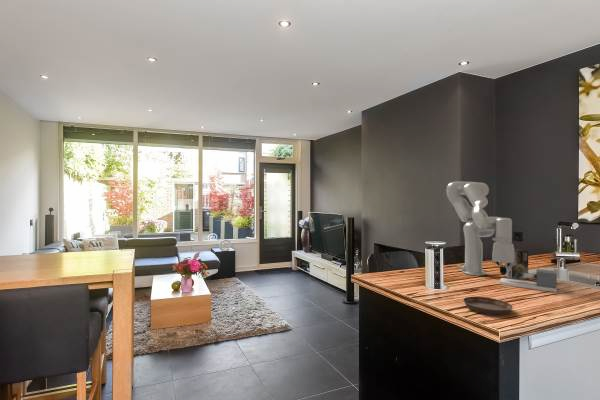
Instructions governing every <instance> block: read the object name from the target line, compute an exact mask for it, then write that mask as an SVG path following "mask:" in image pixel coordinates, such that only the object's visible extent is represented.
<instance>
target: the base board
mask: <svg viewBox="0 0 600 400" xmlns="http://www.w3.org/2000/svg"><path fill="white" fill-rule="evenodd" d="M499 285H501V286H509V287H515V288H516V287H517V288H524V289H531V290H539V291H545V292H546V291H547V292H552V291H553V293H557V290H558V288H557V289H556V288H548V287H540V286H537V285H536V281H529V280H522V279H512V278H505V277H501V278H500V280H499Z"/></svg>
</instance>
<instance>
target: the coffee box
mask: <svg viewBox="0 0 600 400" xmlns="http://www.w3.org/2000/svg"><path fill="white" fill-rule="evenodd" d="M514 254H515V259H514V261H515V265H509V266H508V267H507V273H505V275H506V277H507V278H509V279H514V280H516V279H515V278H514V273H515V269H517V270H519V272H521V273H529V250H526V249H522V248H520V249H519V248H514ZM522 279H523V280H524V279H525V280H529V278H525V277H519V279H518V280H522Z"/></svg>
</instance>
